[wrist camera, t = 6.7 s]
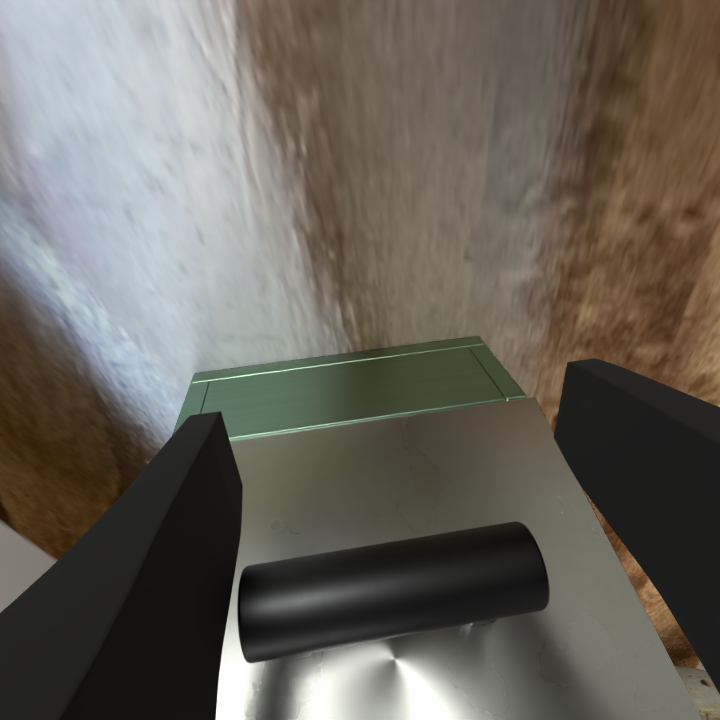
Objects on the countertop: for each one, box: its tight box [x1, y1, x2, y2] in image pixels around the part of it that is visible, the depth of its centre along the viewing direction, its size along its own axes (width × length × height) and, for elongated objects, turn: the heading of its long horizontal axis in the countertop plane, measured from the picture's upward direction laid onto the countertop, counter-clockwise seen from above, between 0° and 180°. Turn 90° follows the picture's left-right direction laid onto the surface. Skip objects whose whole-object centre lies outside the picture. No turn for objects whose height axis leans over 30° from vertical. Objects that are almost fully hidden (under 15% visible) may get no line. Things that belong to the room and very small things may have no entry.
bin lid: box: [216, 397, 702, 720], centre depth 9 cm, size 13×13×5 cm
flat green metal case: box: [172, 336, 526, 441], centre depth 21 cm, size 13×13×5 cm
